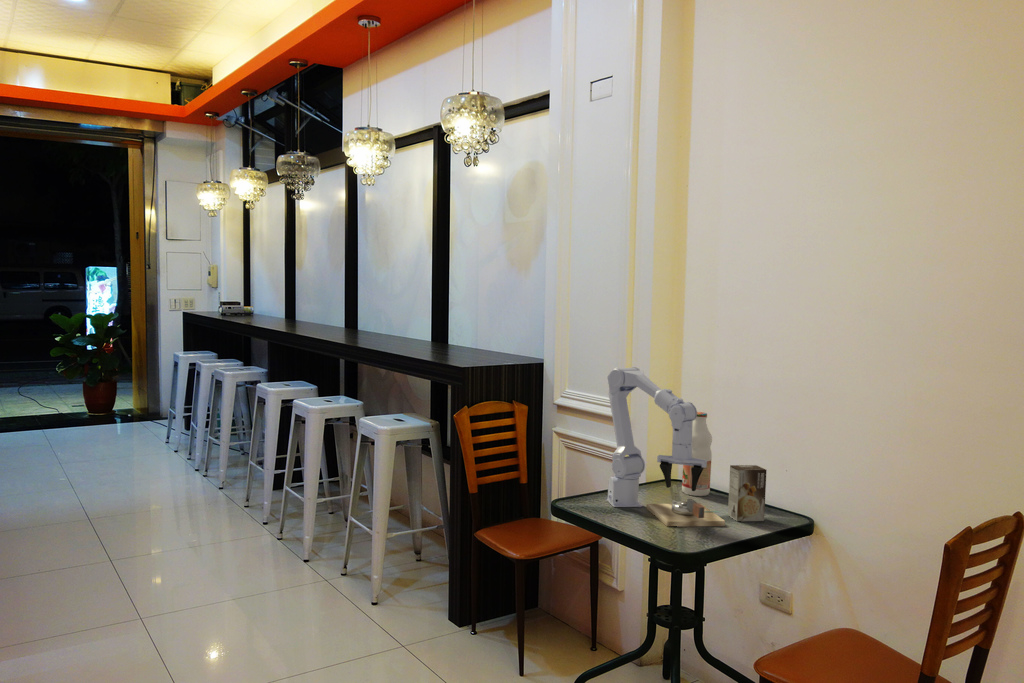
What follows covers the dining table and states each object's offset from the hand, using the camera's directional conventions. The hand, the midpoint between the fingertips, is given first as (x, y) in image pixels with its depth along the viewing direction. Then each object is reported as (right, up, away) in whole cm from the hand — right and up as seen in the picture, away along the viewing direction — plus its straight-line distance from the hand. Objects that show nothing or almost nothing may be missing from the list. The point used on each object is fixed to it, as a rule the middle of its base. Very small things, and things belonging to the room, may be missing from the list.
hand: (681, 488), depth 215 cm
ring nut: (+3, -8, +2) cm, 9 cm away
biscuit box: (+22, -11, +7) cm, 25 cm away
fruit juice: (+13, -9, +35) cm, 39 cm away
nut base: (+2, -10, +6) cm, 12 cm away
